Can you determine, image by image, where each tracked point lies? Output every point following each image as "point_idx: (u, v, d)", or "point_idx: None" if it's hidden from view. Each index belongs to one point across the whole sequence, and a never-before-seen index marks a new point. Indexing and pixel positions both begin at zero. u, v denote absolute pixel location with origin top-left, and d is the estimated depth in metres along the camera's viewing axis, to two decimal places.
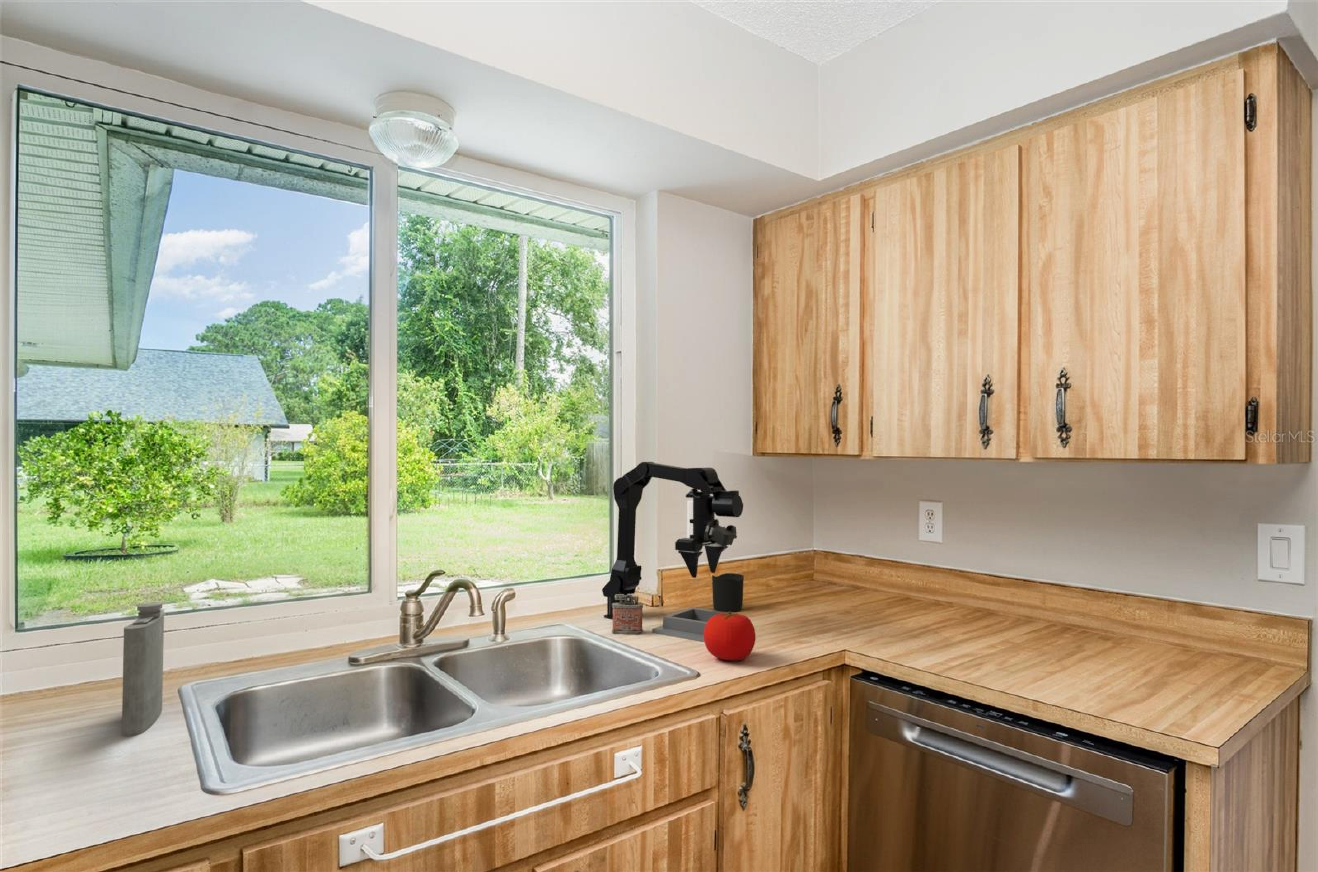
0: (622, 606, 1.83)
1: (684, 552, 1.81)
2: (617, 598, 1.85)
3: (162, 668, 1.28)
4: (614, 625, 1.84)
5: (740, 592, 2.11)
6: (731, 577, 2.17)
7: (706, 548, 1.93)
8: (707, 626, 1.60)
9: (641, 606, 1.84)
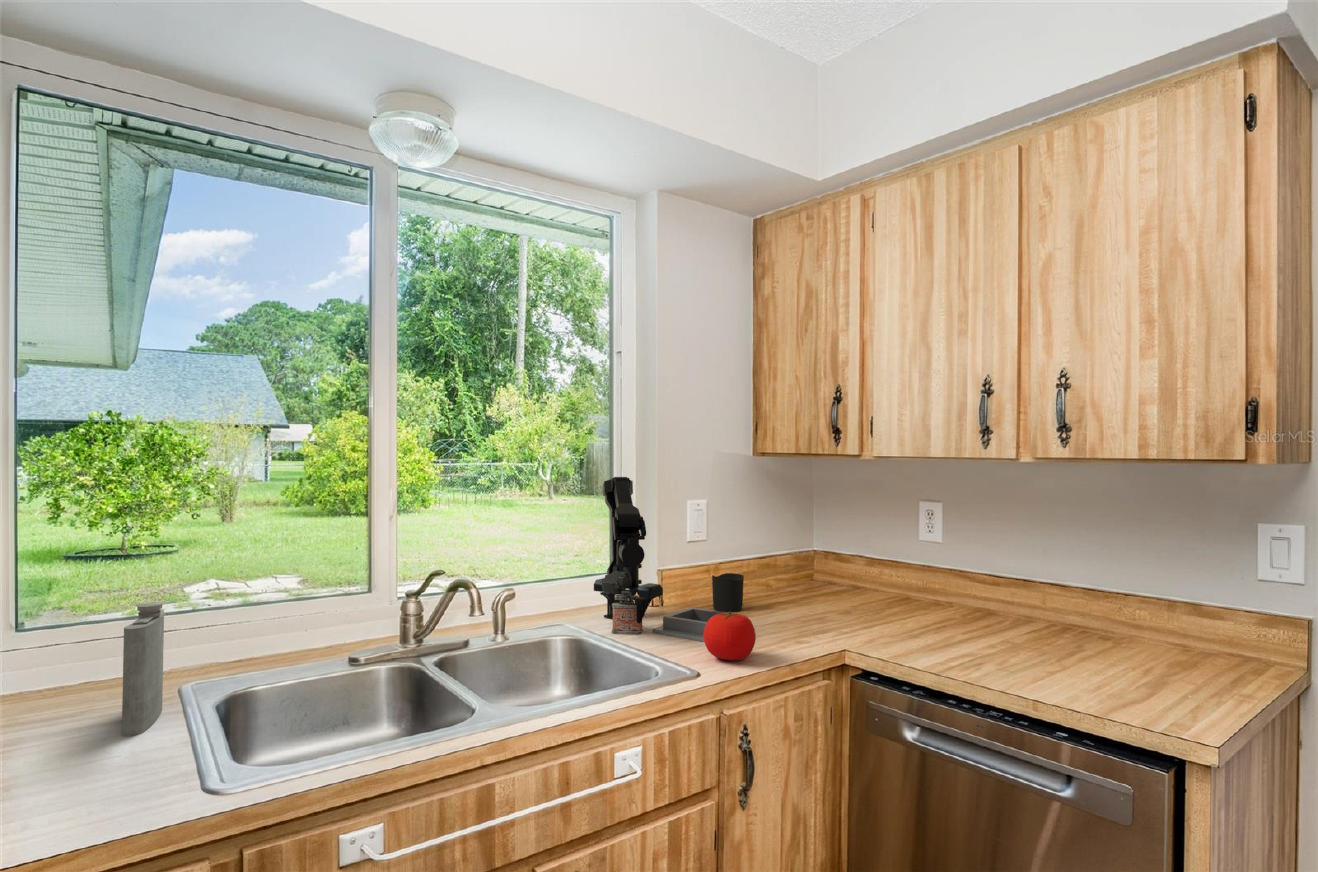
0: (622, 606, 1.83)
1: None
2: (617, 598, 1.85)
3: (162, 668, 1.28)
4: (614, 625, 1.84)
5: (740, 592, 2.11)
6: (731, 577, 2.17)
7: None
8: (707, 626, 1.60)
9: None
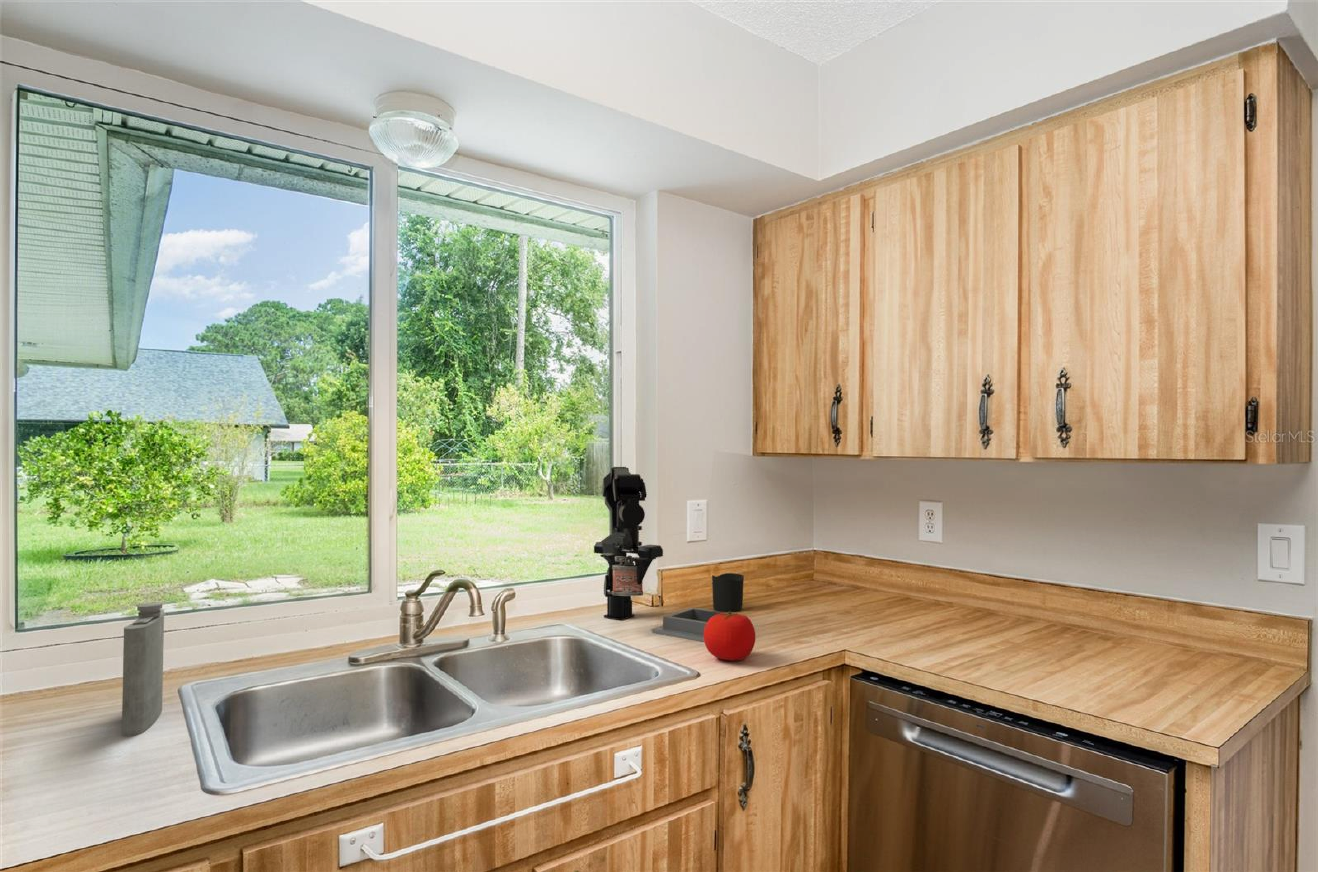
0: (622, 567, 1.84)
1: None
2: (617, 560, 1.85)
3: (162, 668, 1.28)
4: (614, 586, 1.84)
5: (740, 592, 2.11)
6: (731, 577, 2.17)
7: None
8: (707, 626, 1.60)
9: None
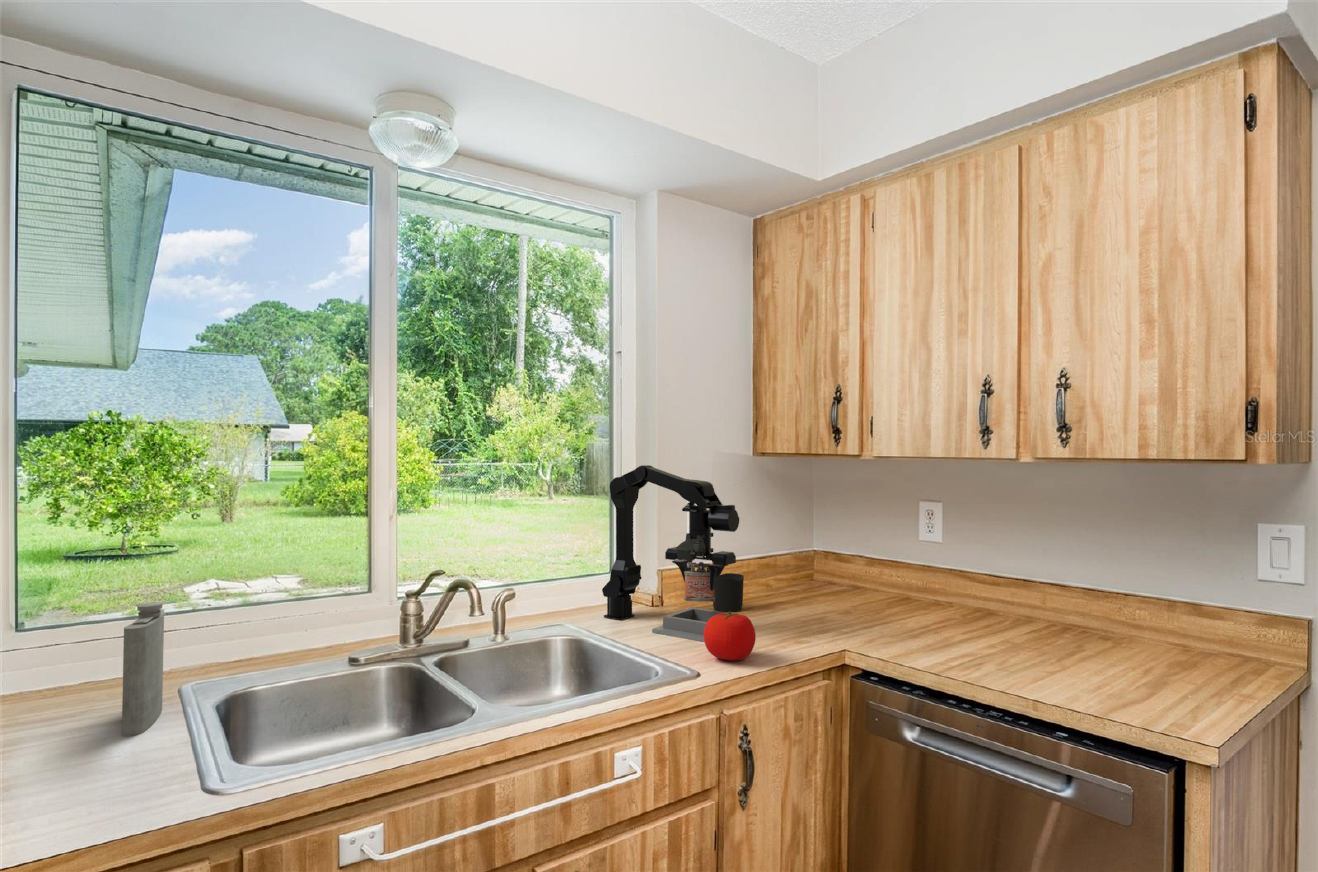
0: (695, 573, 1.86)
1: None
2: (689, 566, 1.87)
3: (162, 668, 1.28)
4: (687, 592, 1.87)
5: (740, 592, 2.11)
6: (731, 577, 2.17)
7: None
8: (707, 626, 1.60)
9: None
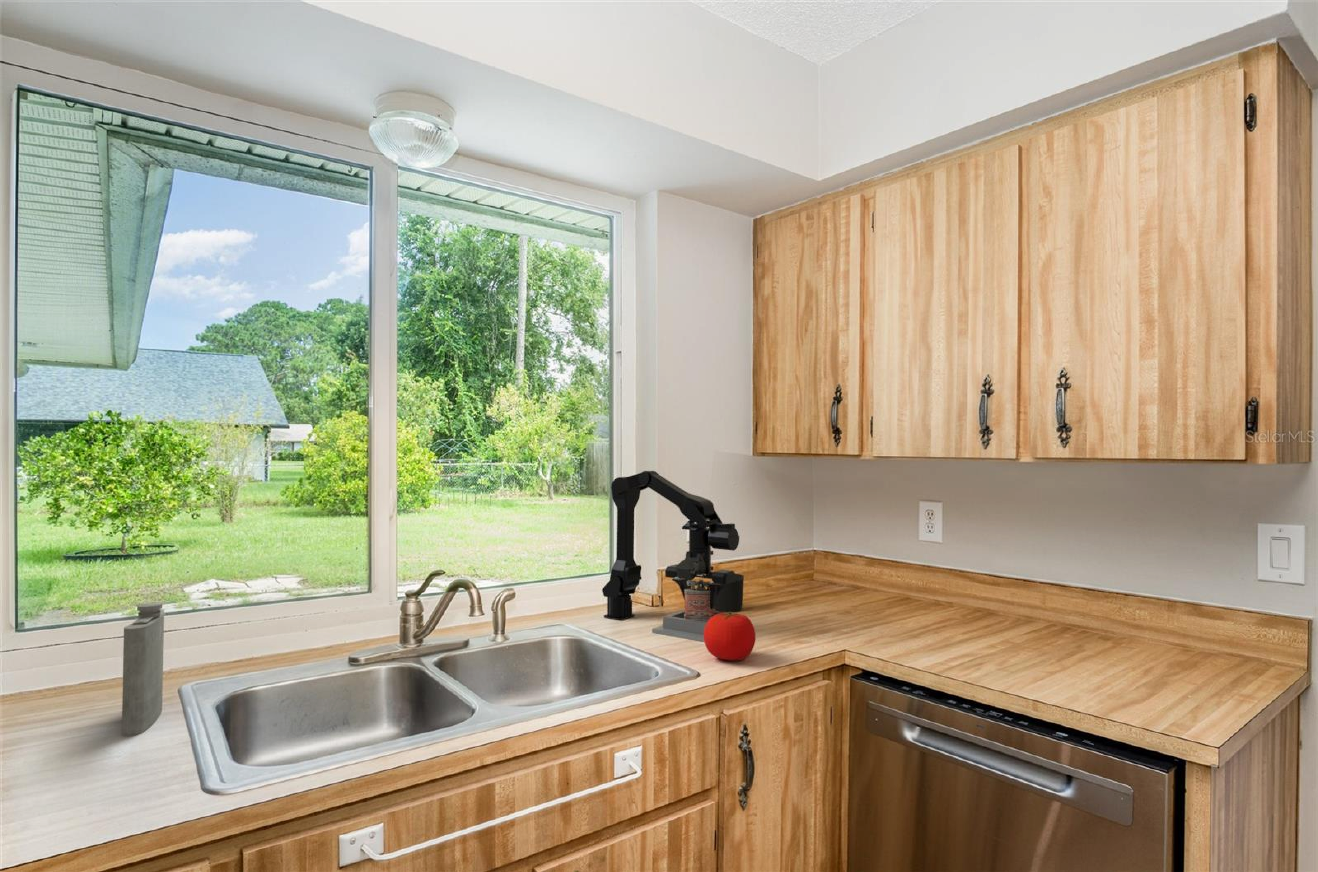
0: (695, 592, 1.86)
1: None
2: (689, 584, 1.87)
3: (162, 668, 1.28)
4: (686, 611, 1.87)
5: (740, 592, 2.11)
6: None
7: None
8: (707, 626, 1.60)
9: None
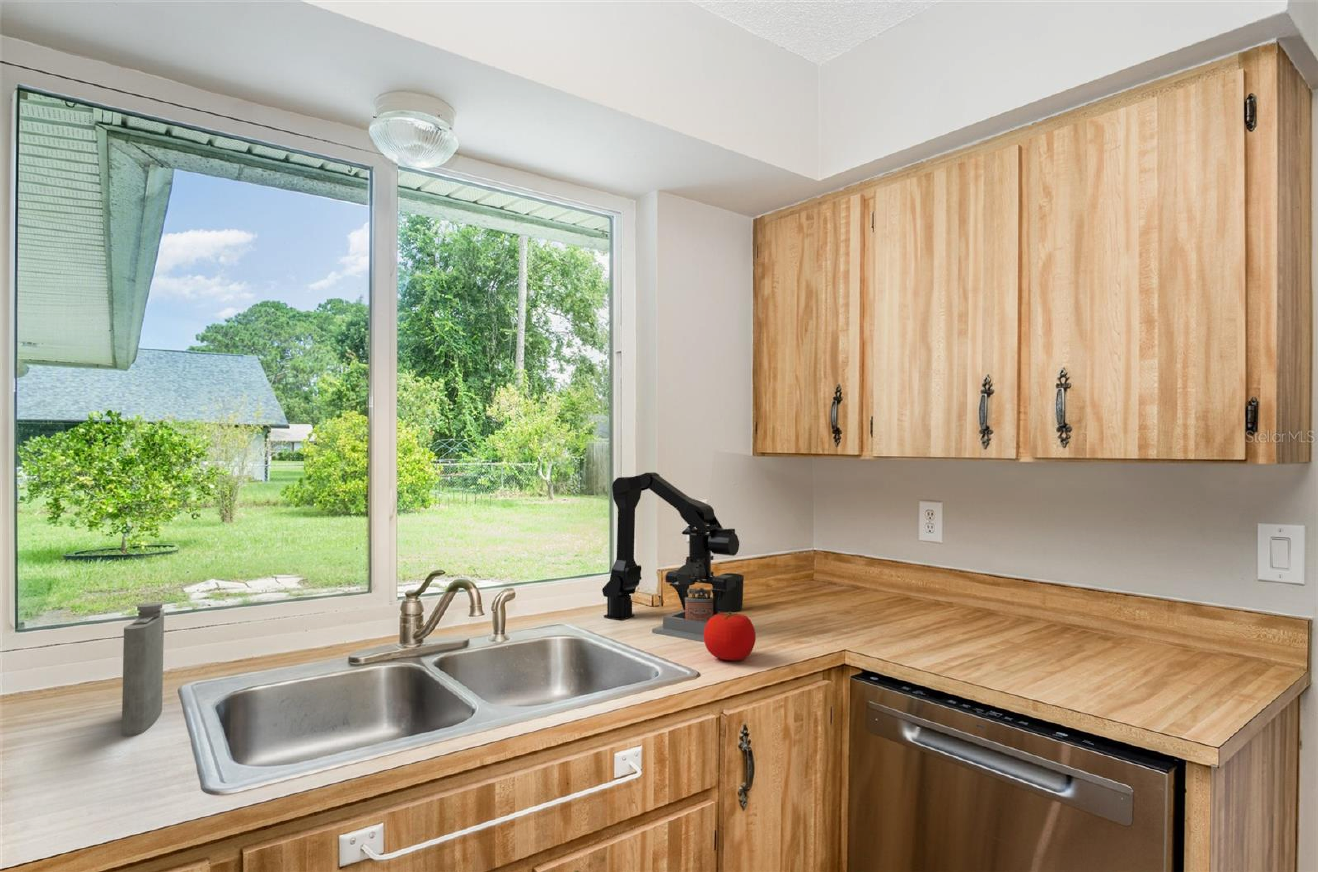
0: (695, 600, 1.86)
1: None
2: (690, 592, 1.87)
3: (162, 668, 1.28)
4: None
5: (740, 592, 2.11)
6: None
7: None
8: (707, 626, 1.60)
9: None
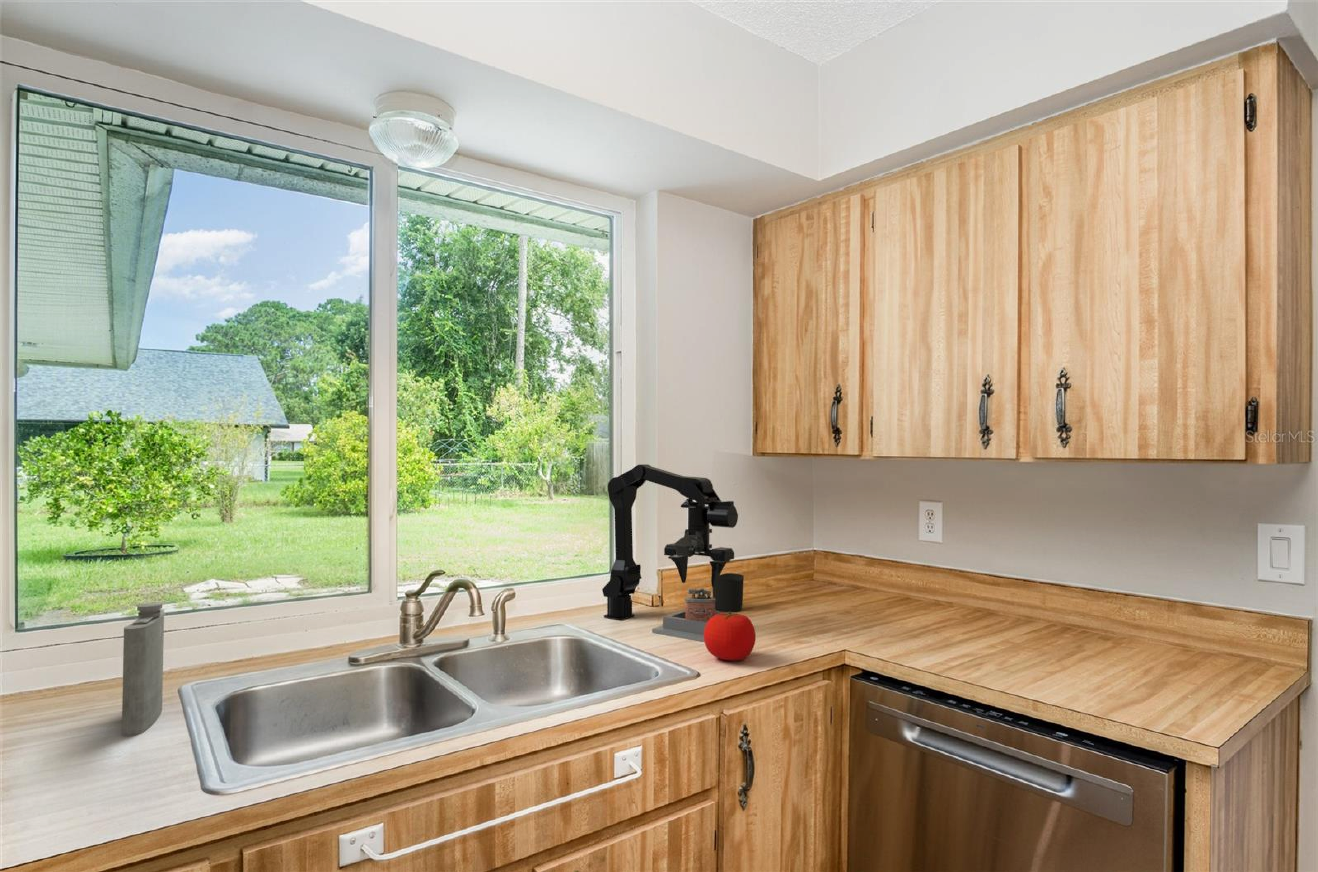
0: (695, 600, 1.86)
1: None
2: (690, 592, 1.87)
3: (162, 668, 1.28)
4: None
5: (740, 592, 2.11)
6: (731, 577, 2.17)
7: None
8: (707, 626, 1.60)
9: (714, 600, 1.86)
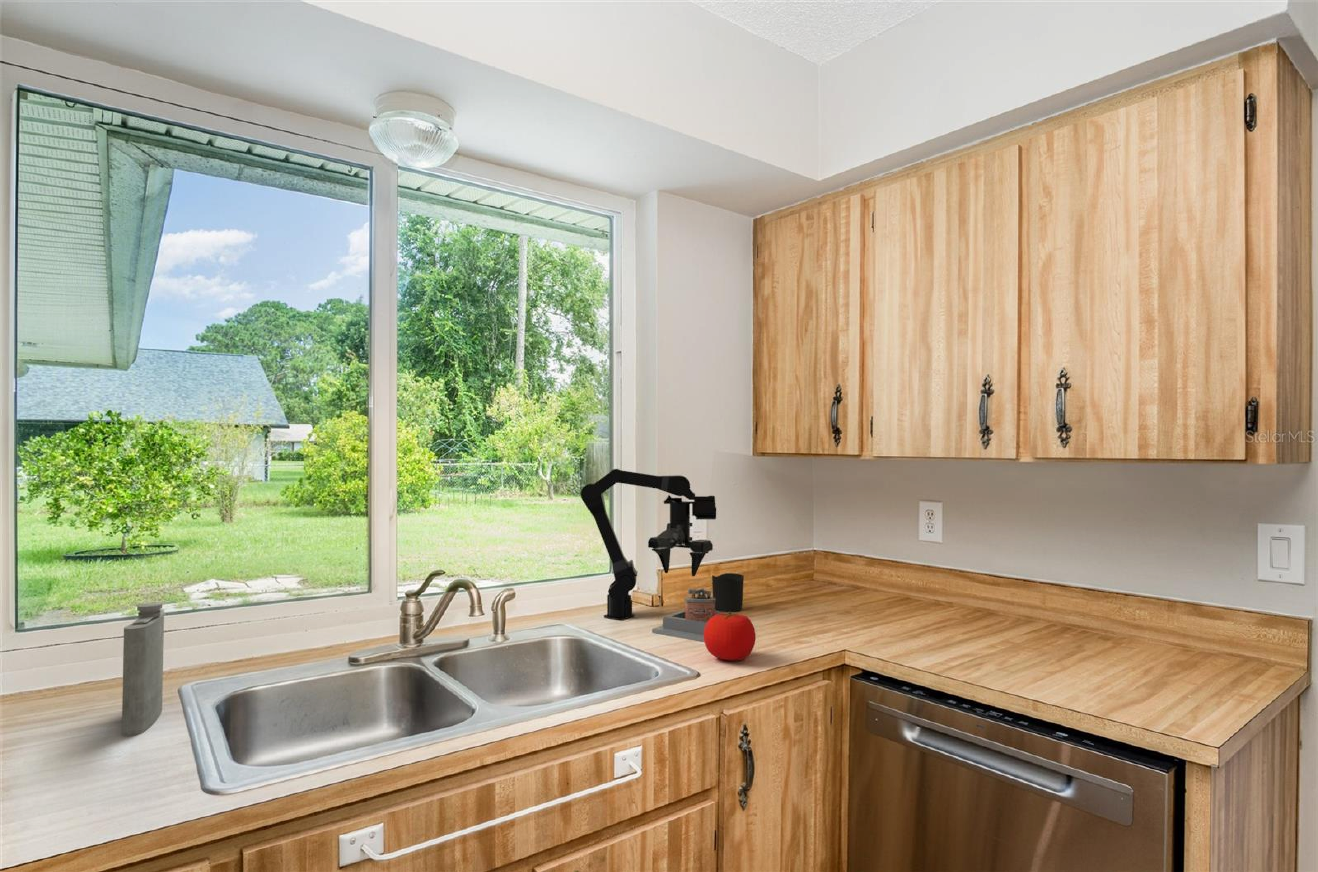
0: (695, 600, 1.86)
1: None
2: (690, 592, 1.87)
3: (162, 668, 1.28)
4: None
5: (740, 592, 2.11)
6: (731, 577, 2.17)
7: None
8: (707, 626, 1.60)
9: (714, 600, 1.86)
